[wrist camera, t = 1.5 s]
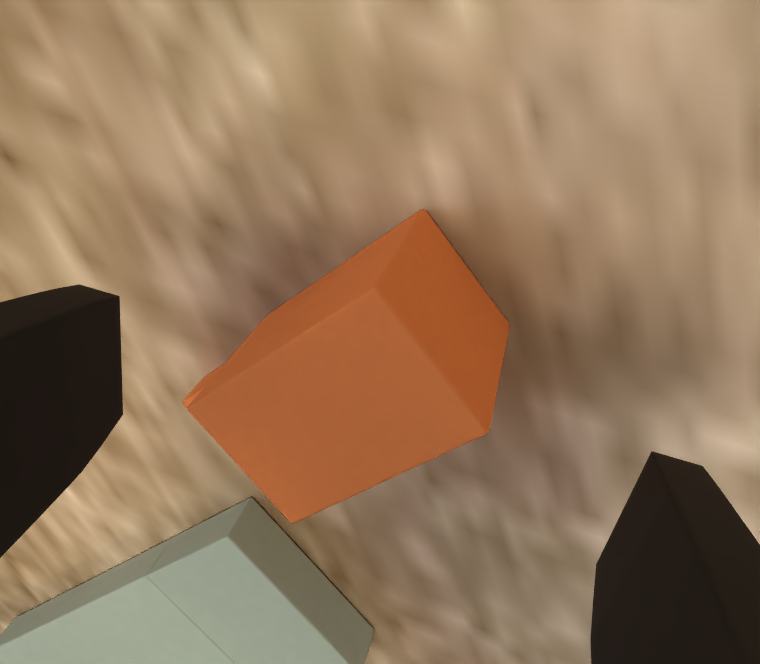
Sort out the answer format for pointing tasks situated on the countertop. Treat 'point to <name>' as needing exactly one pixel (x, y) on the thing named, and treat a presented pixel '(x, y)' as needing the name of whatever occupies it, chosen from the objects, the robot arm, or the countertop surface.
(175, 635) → the grey tile
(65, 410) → the robot arm
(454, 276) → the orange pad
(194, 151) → the countertop surface
